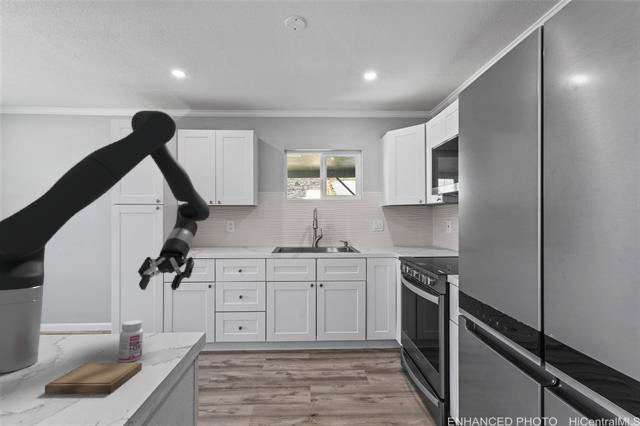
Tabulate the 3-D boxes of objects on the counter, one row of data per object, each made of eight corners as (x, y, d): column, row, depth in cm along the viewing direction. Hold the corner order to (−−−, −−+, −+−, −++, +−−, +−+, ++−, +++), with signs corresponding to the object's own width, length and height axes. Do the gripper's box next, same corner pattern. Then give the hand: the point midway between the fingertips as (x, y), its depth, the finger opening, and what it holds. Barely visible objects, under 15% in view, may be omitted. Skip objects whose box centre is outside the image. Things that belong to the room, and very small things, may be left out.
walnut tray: (44, 393, 56) (45, 384, 56) (85, 369, 66) (85, 362, 66) (110, 393, 56) (111, 384, 56) (141, 369, 66) (141, 361, 66)
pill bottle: (130, 363, 69) (132, 325, 70) (112, 362, 70) (115, 324, 71) (146, 355, 74) (148, 320, 74) (129, 354, 75) (131, 319, 75)
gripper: (151, 237, 94) (126, 280, 82) (197, 237, 94) (179, 280, 82) (158, 253, 99) (136, 296, 86) (203, 253, 99) (187, 296, 87)
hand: (157, 288), depth 84 cm, fingers open, 8 cm apart
